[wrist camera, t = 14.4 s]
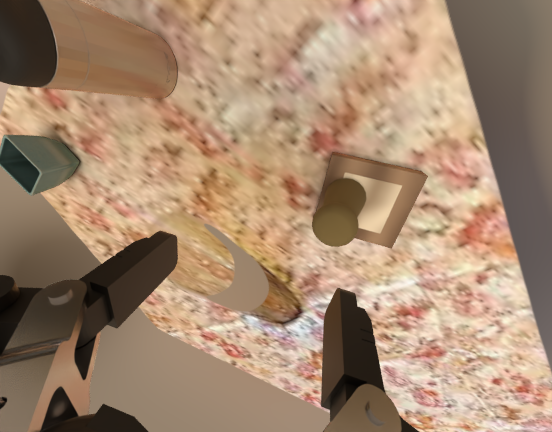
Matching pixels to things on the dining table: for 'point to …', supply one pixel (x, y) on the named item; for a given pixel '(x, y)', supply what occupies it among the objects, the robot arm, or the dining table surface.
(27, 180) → the flower pot
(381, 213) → the dock board
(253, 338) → the dining table surface
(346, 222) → the brown wooden pawn
